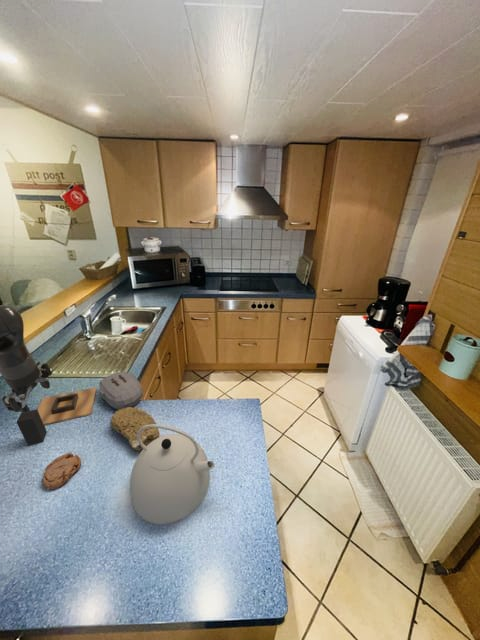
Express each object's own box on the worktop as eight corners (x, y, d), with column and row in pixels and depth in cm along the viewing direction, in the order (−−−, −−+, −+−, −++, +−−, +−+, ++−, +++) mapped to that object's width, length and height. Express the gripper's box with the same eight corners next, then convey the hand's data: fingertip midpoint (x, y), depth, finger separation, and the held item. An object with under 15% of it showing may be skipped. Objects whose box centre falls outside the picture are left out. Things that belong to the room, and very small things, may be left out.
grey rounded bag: (95, 394, 108) (116, 418, 96) (91, 378, 105) (112, 402, 93) (129, 378, 119) (151, 398, 107) (126, 363, 115) (149, 382, 103)
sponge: (165, 441, 89) (143, 401, 101) (160, 431, 84) (138, 390, 96) (128, 466, 83) (110, 420, 95) (121, 456, 78) (102, 409, 90)
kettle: (225, 456, 83) (224, 404, 73) (202, 536, 63) (197, 479, 53) (156, 441, 87) (147, 391, 78) (114, 512, 67) (94, 456, 58)
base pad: (29, 428, 91) (27, 423, 90) (43, 399, 105) (41, 394, 104) (91, 414, 98) (89, 409, 97) (96, 388, 112) (95, 383, 110)
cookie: (36, 494, 71) (32, 487, 70) (51, 460, 80) (48, 454, 79) (75, 485, 74) (73, 478, 72) (85, 453, 83) (83, 447, 82)
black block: (27, 445, 85) (16, 422, 80) (32, 435, 89) (21, 412, 84) (43, 441, 86) (32, 418, 82) (47, 432, 90) (37, 409, 86)
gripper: (25, 346, 75) (41, 377, 85) (-19, 385, 64) (5, 416, 74) (50, 352, 75) (63, 383, 85) (10, 392, 64) (31, 422, 74)
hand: (36, 398), depth 80 cm, fingers open, 8 cm apart
